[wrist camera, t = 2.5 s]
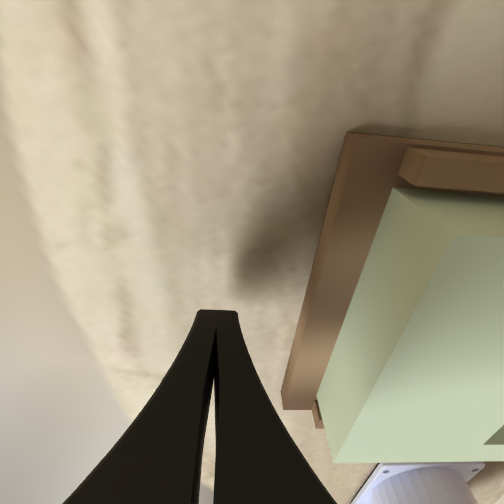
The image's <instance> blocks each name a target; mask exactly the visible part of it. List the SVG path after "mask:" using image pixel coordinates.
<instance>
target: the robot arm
mask: <svg viewBox="0 0 504 504" xmlns="http://www.w3.org/2000/svg"><path fill="white" fill-rule="evenodd" d="M213 380H214V392H215V431H216V461H215V481H214V503H213V504H337V503H336V502H335V500H334V499H333V498H332V496H331V495H330V494H329V492H328V491H327V490H326V488H325V487H324V485H323V484H322V483H321V481H320V480H319V478H318V477H317V476H316V474H315V473H314V471H313V470H312V469H311V467H310V466H309V464H308V462H307V461H306V459H305V458H304V456H303V455H302V453H301V452H300V450H299V449H298V447H297V446H296V444H295V442H294V441H293V439H292V438H291V436H290V435H289V433H288V431H287V430H286V428H285V426H284V425H283V423H282V421H281V419H280V418H279V416H278V414H277V412H276V410H275V409H274V407H273V405H272V403H271V401H270V399H269V397H268V395H267V393H266V391H265V389H264V387H263V385H262V383H261V381H260V379H259V377H258V374H257V372H256V370H255V368H254V365H253V363H252V360H251V358H250V355H249V353H248V350H247V347H246V344H245V341H244V338H243V335H242V332H241V328H240V324H239V319H238V313H237V312H236V311H229V310H201V309H200V310H199V311H198V312H197V314H196V317H195V320H194V323H193V325H192V327H191V330H190V332H189V334H188V336H187V338H186V340H185V342H184V344H183V346H182V348H181V350H180V351H179V353H178V355H177V357H176V359H175V360H174V362H173V364H172V365H171V367H170V369H169V370H168V372H167V374H166V375H165V377H164V378H163V380H162V382H161V383H160V385H159V386H158V388H157V389H156V391H155V392H154V394H153V395H152V397H151V398H150V399H149V401H148V402H147V404H146V405H145V406H144V408H143V409H142V411H141V412H140V413H139V415H138V416H137V417H136V419H135V420H134V421H133V422H132V424H131V425H130V426H129V428H128V429H127V430H126V431H125V433H124V434H123V436H122V437H121V438H120V439H119V440H118V441H117V443H116V444H115V445H114V446H113V448H112V449H111V450H110V451H109V452H108V453H107V455H106V456H105V457H104V458H103V459H102V460H101V461H100V463H99V464H98V465H97V466H96V467H95V468H94V469H93V471H92V472H91V473H90V474H89V475H88V476H87V477H86V479H85V480H84V481H83V482H82V483H81V484H80V485H79V487H78V488H77V489H76V490H75V491H74V492H73V493H72V494H71V496H69V497H68V498H67V499H66V500H65V502H64V503H63V504H198V503H199V489H200V477H201V464H202V454H203V446H204V438H205V432H206V426H207V419H208V413H209V406H210V400H211V393H212V387H213ZM484 467H485V463H484V462H483V461H474V462H398V463H380V464H379V465H378V466H377V468H376V469H375V471H374V472H373V473H372V475H371V476H370V478H369V479H368V480H367V482H366V483H365V485H364V486H363V487H362V489H361V490H360V492H359V493H358V494H357V496H356V497H355V499H354V500H353V501H352V503H351V504H478V503H477V501H476V499H475V497H474V496H473V494H472V492H471V490H470V488H469V487H468V485H467V482H468V481H469V480H470V479H471V478H473V477H474V476H475V475H476V474H477V473H478V472H480V471H481V470H482V469H483V468H484Z"/></svg>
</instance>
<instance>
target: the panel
mask: <svg viewBox="0 0 504 504" xmlns="http://www.w3.org/2000/svg"><path fill="white" fill-rule="evenodd" d="M316 396H317V400H318V404H319V408H320V412H321V416H322V420H323V424H324V428H325V432H326V436H327V440H328V444H329V448H330V453H331V457H332V461H333V463H398V462H474V461H504V196H493V195H481V194H468V193H456V192H443V191H431V190H419V189H406V188H394V187H393V188H392V191H391V194H390V196H389V199H388V202H387V204H386V207H385V210H384V213H383V215H382V218H381V221H380V224H379V226H378V229H377V232H376V234H375V237H374V240H373V243H372V245H371V248H370V251H369V253H368V256H367V259H366V262H365V264H364V267H363V270H362V273H361V275H360V278H359V281H358V283H357V286H356V289H355V292H354V294H353V297H352V300H351V303H350V305H349V308H348V311H347V313H346V316H345V319H344V322H343V324H342V327H341V330H340V333H339V335H338V338H337V341H336V343H335V346H334V349H333V352H332V354H331V357H330V360H329V363H328V365H327V368H326V371H325V373H324V376H323V379H322V382H321V384H320V387H319V390H318V392H317V395H316Z"/></svg>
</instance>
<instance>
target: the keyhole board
mask: <svg viewBox="0 0 504 504" xmlns="http://www.w3.org/2000/svg"><path fill="white" fill-rule="evenodd" d="M393 187H394V188H406V189H419V190H431V191H443V192H456V193H468V194H481V195H493V196H504V147H495V146H485V145H475V144H465V143H455V142H444V141H434V140H424V139H414V138H403V137H393V136H383V135H373V134H363V133H352V132H347V133H346V136H345V140H344V144H343V148H342V152H341V156H340V160H339V164H338V168H337V172H336V176H335V180H334V184H333V188H332V192H331V196H330V200H329V204H328V208H327V211H326V215H325V219H324V223H323V227H322V231H321V235H320V239H319V243H318V247H317V251H316V255H315V259H314V263H313V267H312V271H311V275H310V279H309V283H308V286H307V290H306V294H305V298H304V302H303V306H302V310H301V314H300V318H299V322H298V326H297V330H296V334H295V338H294V342H293V346H292V350H291V354H290V358H289V361H288V365H287V369H286V373H285V377H284V381H283V385H282V389H281V397H282V404H283V410H312V413H313V418H314V422H315V427H316V429H325V428H324V424H323V420H322V416H321V412H320V408H319V404H318V400H317V396H316V395H317V392H318V390H319V387H320V384H321V382H322V379H323V376H324V373H325V371H326V368H327V365H328V363H329V360H330V357H331V354H332V352H333V349H334V346H335V343H336V341H337V338H338V335H339V333H340V330H341V327H342V324H343V322H344V319H345V316H346V313H347V311H348V308H349V305H350V303H351V300H352V297H353V294H354V292H355V289H356V286H357V283H358V281H359V278H360V275H361V273H362V270H363V267H364V264H365V262H366V259H367V256H368V253H369V251H370V248H371V245H372V243H373V240H374V237H375V234H376V232H377V229H378V226H379V224H380V221H381V218H382V215H383V213H384V210H385V207H386V204H387V202H388V199H389V196H390V194H391V191H392V188H393Z"/></svg>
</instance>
